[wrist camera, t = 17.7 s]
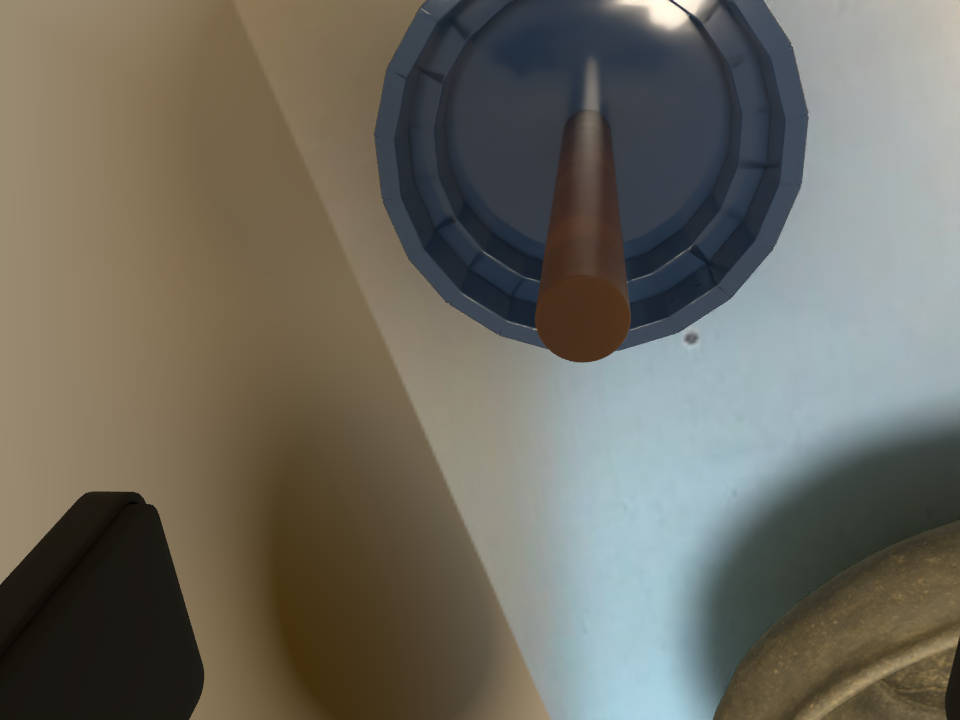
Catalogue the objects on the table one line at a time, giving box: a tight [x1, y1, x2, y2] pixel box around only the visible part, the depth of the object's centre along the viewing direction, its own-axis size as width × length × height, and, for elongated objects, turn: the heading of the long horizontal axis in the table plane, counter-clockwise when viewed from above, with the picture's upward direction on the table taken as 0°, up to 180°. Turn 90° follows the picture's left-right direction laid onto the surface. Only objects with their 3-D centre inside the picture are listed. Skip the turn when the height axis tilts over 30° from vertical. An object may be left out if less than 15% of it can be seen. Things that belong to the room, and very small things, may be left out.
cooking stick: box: [535, 110, 631, 362], centre depth 26 cm, size 2×2×20 cm
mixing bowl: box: [374, 0, 808, 351], centre depth 33 cm, size 16×16×6 cm
